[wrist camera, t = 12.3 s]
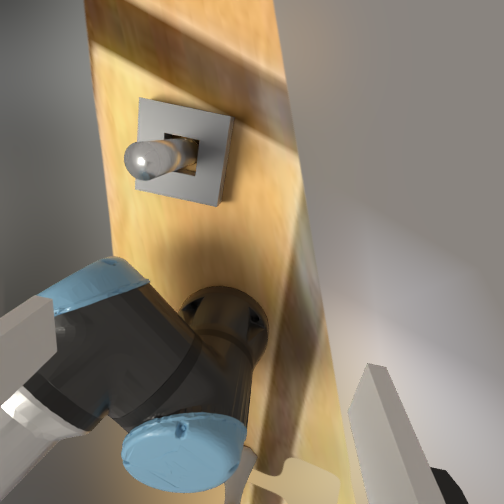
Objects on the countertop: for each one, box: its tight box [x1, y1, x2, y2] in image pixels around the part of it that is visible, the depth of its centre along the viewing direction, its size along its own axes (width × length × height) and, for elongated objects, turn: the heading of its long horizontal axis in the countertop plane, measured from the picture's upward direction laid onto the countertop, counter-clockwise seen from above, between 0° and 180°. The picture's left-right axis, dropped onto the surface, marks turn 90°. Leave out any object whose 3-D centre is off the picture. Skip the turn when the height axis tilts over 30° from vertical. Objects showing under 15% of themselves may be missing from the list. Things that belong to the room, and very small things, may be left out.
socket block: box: [135, 97, 234, 207], centre depth 39 cm, size 11×11×3 cm
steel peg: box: [124, 138, 199, 181], centre depth 34 cm, size 3×3×14 cm
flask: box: [224, 446, 257, 504], centre depth 57 cm, size 7×7×10 cm
